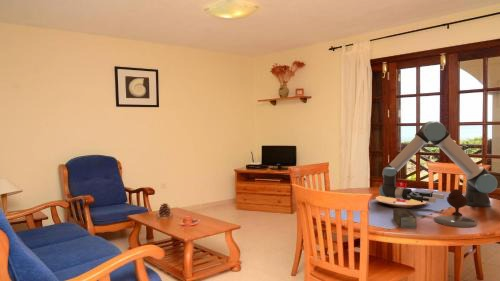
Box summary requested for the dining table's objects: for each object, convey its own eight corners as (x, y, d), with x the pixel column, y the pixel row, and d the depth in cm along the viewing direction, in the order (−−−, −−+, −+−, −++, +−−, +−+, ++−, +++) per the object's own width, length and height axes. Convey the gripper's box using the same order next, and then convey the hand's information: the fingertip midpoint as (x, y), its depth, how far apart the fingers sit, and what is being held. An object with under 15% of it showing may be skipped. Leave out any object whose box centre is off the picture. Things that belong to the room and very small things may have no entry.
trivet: (470, 218, 202) (470, 217, 202) (482, 228, 183) (482, 227, 183) (430, 216, 207) (430, 214, 207) (437, 225, 188) (438, 224, 188)
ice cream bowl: (471, 217, 204) (471, 191, 203) (449, 216, 206) (449, 190, 205) (464, 213, 214) (464, 187, 213) (443, 212, 216) (443, 187, 215)
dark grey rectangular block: (400, 228, 185) (400, 215, 184) (392, 218, 203) (392, 207, 203) (416, 229, 183) (417, 216, 183) (407, 219, 202) (407, 207, 202)
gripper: (412, 196, 240) (446, 201, 225) (395, 202, 223) (431, 208, 208) (412, 185, 240) (447, 189, 225) (395, 190, 223) (431, 195, 208)
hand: (439, 198), depth 216 cm, fingers open, 13 cm apart
